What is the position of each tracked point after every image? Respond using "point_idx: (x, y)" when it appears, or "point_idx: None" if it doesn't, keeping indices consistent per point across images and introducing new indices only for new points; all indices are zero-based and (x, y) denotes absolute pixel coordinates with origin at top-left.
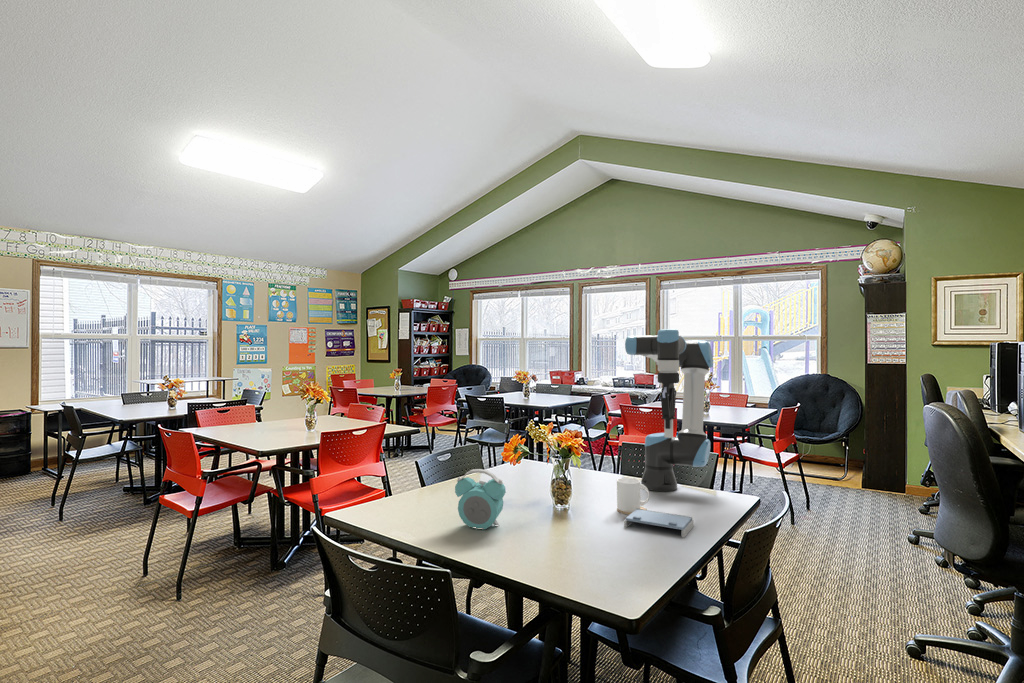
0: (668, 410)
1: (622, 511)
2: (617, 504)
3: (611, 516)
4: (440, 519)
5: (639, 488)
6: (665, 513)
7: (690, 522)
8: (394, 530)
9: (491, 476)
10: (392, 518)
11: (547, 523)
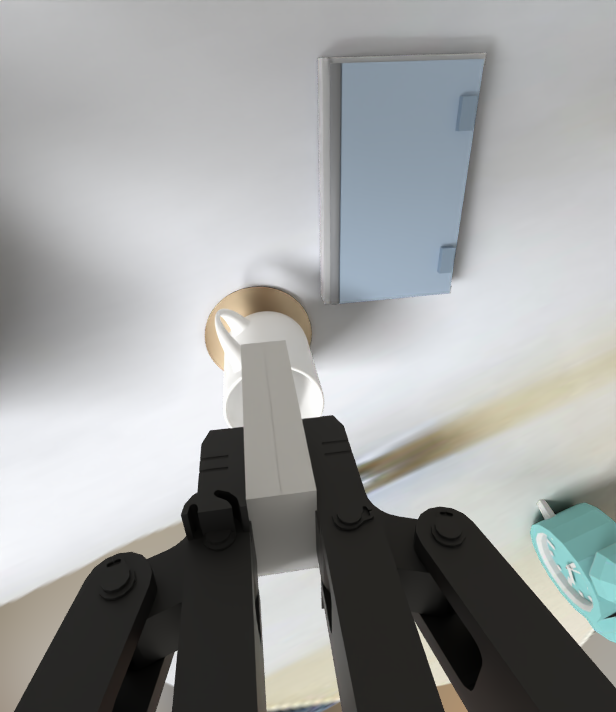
0: (584, 658)
1: None
2: (294, 379)
3: (357, 357)
4: (533, 580)
5: None
6: (338, 189)
7: (369, 58)
8: None
9: None
10: None
11: (487, 445)
